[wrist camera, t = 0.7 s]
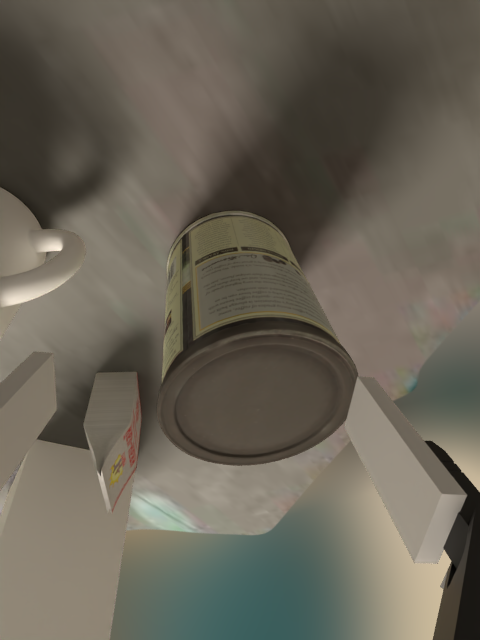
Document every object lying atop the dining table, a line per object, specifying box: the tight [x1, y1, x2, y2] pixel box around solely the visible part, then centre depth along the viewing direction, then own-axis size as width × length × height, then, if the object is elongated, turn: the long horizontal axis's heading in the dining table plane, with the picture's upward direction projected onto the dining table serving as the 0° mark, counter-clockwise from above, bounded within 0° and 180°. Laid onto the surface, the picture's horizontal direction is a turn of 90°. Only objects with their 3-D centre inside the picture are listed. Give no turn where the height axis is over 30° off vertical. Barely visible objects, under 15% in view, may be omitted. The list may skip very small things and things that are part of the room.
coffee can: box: [157, 211, 358, 466], centre depth 24 cm, size 10×10×14 cm
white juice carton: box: [83, 372, 142, 513], centre depth 33 cm, size 4×7×10 cm, turn 175°
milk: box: [0, 439, 135, 640], centre depth 34 cm, size 12×12×26 cm
